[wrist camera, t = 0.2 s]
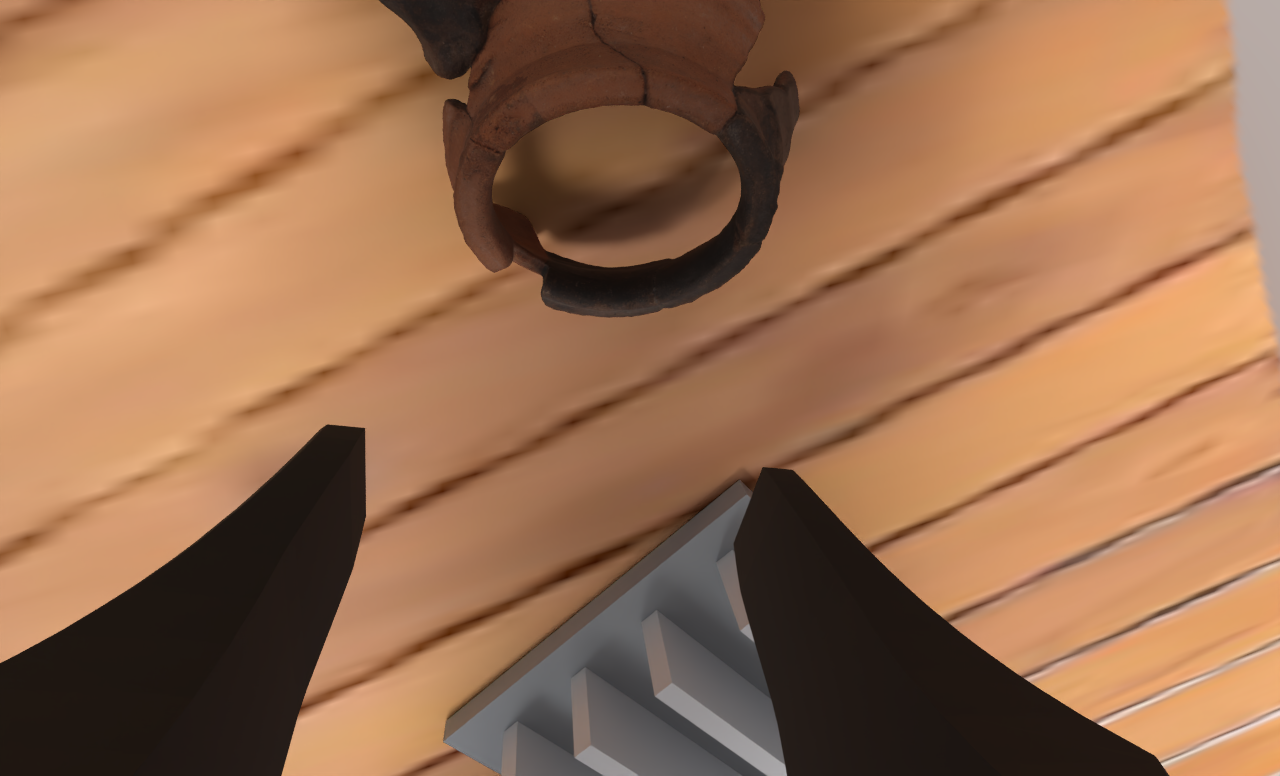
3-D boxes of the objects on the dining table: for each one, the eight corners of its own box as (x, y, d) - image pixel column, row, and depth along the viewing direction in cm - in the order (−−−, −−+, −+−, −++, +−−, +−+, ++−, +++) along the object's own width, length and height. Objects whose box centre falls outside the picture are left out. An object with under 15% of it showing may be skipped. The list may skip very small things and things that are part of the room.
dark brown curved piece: (828, -7, 20) (909, 179, 15) (625, 202, 26) (637, 384, 21) (439, -402, 13) (369, -287, 9) (284, -2, 19) (192, 196, 15)
